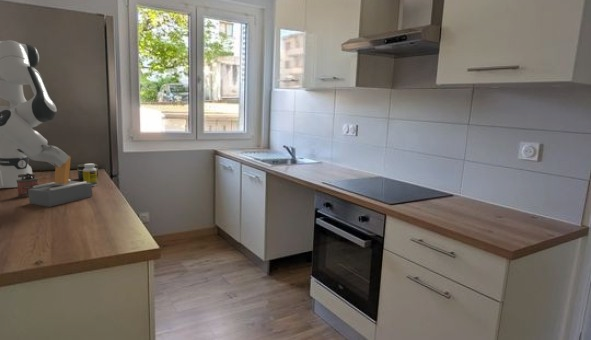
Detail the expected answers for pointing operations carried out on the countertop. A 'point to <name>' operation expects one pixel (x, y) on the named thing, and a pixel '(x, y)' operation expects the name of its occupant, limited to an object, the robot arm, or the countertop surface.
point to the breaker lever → (63, 173)
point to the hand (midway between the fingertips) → (59, 166)
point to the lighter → (26, 184)
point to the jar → (80, 170)
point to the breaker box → (59, 193)
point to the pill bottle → (90, 174)
